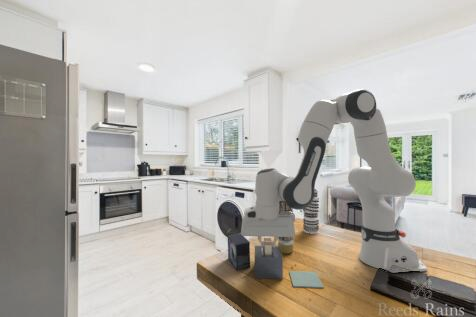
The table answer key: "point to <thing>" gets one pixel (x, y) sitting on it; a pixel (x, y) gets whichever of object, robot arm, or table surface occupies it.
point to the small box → (239, 251)
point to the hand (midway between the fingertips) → (267, 247)
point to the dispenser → (268, 263)
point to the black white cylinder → (311, 216)
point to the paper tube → (285, 242)
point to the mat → (305, 279)
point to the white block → (268, 245)
